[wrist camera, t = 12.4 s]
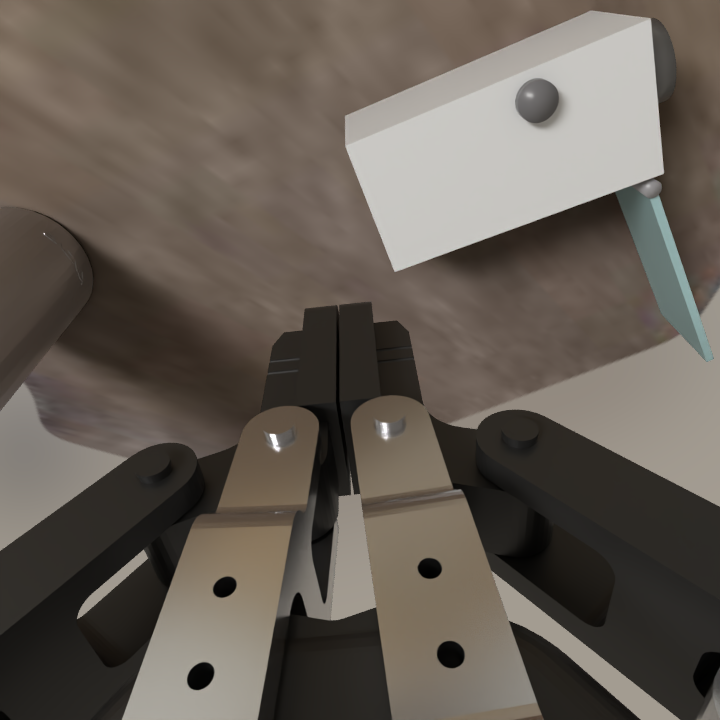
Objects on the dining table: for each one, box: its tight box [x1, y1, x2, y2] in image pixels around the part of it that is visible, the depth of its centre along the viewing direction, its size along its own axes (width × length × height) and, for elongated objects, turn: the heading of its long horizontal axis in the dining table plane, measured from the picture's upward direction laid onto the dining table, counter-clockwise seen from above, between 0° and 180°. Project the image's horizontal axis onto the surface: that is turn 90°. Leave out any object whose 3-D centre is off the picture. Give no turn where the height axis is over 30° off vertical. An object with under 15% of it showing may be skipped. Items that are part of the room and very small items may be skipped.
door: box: [615, 178, 714, 362], centre depth 39 cm, size 15×1×7 cm, turn 33°
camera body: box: [345, 11, 676, 272], centre depth 34 cm, size 18×8×9 cm, turn 112°
